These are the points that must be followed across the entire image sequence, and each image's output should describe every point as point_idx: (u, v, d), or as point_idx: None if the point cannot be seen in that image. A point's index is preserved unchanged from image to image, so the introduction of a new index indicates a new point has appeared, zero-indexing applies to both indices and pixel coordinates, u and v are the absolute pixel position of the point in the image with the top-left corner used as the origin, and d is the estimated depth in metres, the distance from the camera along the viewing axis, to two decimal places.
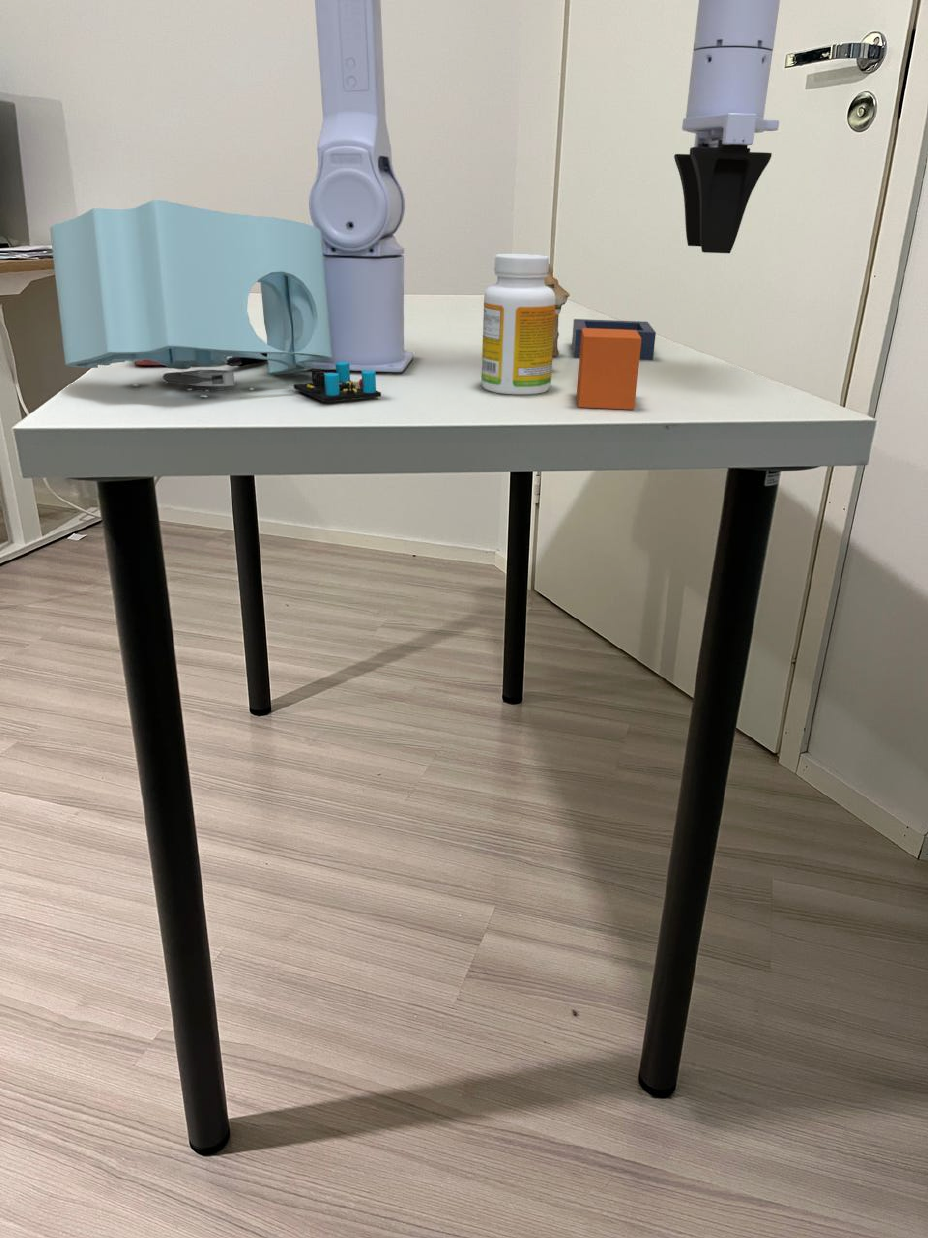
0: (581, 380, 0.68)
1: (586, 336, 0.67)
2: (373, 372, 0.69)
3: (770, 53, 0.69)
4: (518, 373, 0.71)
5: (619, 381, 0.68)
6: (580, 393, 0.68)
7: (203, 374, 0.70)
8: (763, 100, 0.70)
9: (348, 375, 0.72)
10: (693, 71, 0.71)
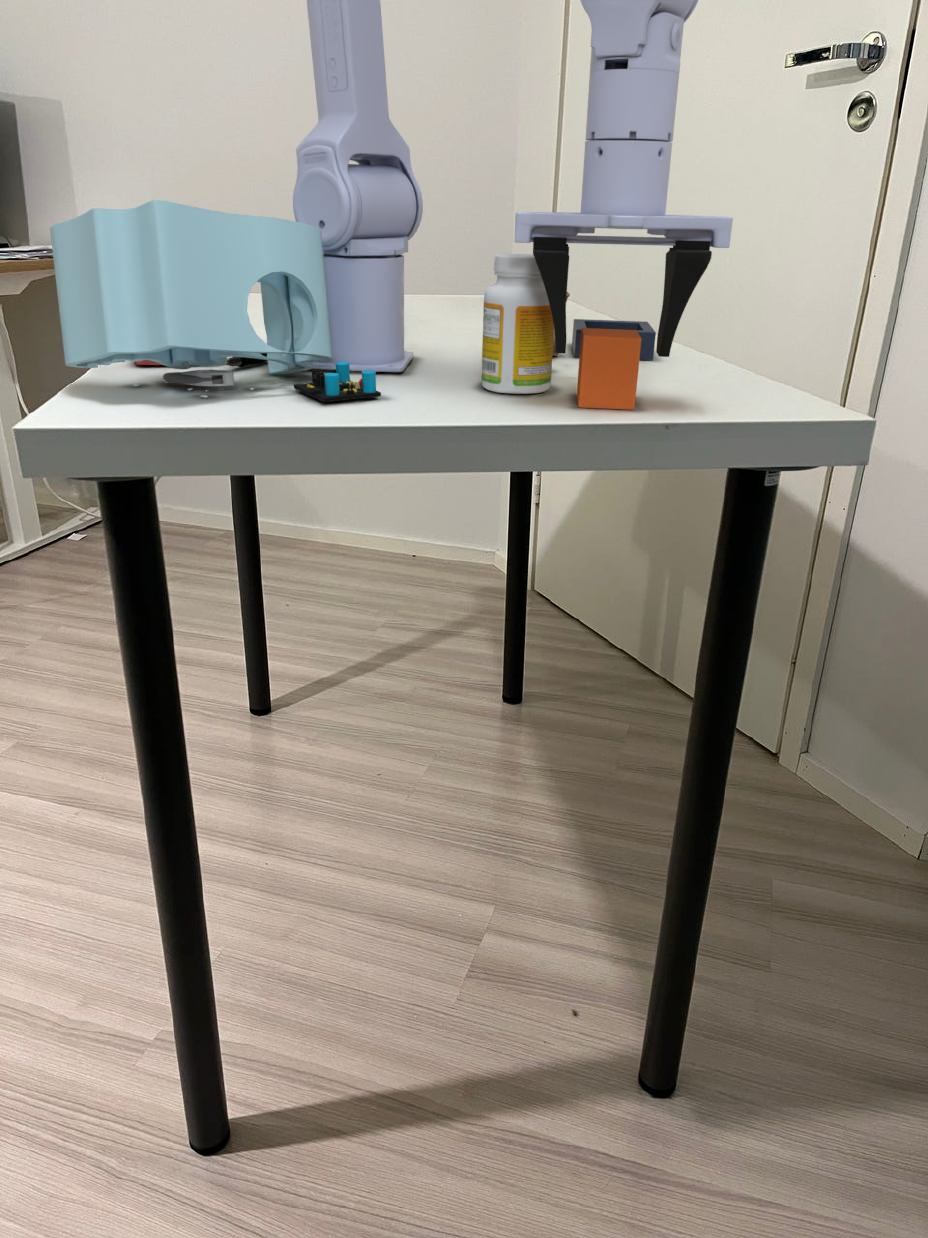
0: (581, 380, 0.68)
1: (586, 336, 0.67)
2: (373, 372, 0.69)
3: (609, 143, 0.61)
4: (518, 372, 0.71)
5: (619, 381, 0.68)
6: (580, 393, 0.68)
7: (203, 374, 0.70)
8: (605, 194, 0.62)
9: (348, 375, 0.72)
10: None
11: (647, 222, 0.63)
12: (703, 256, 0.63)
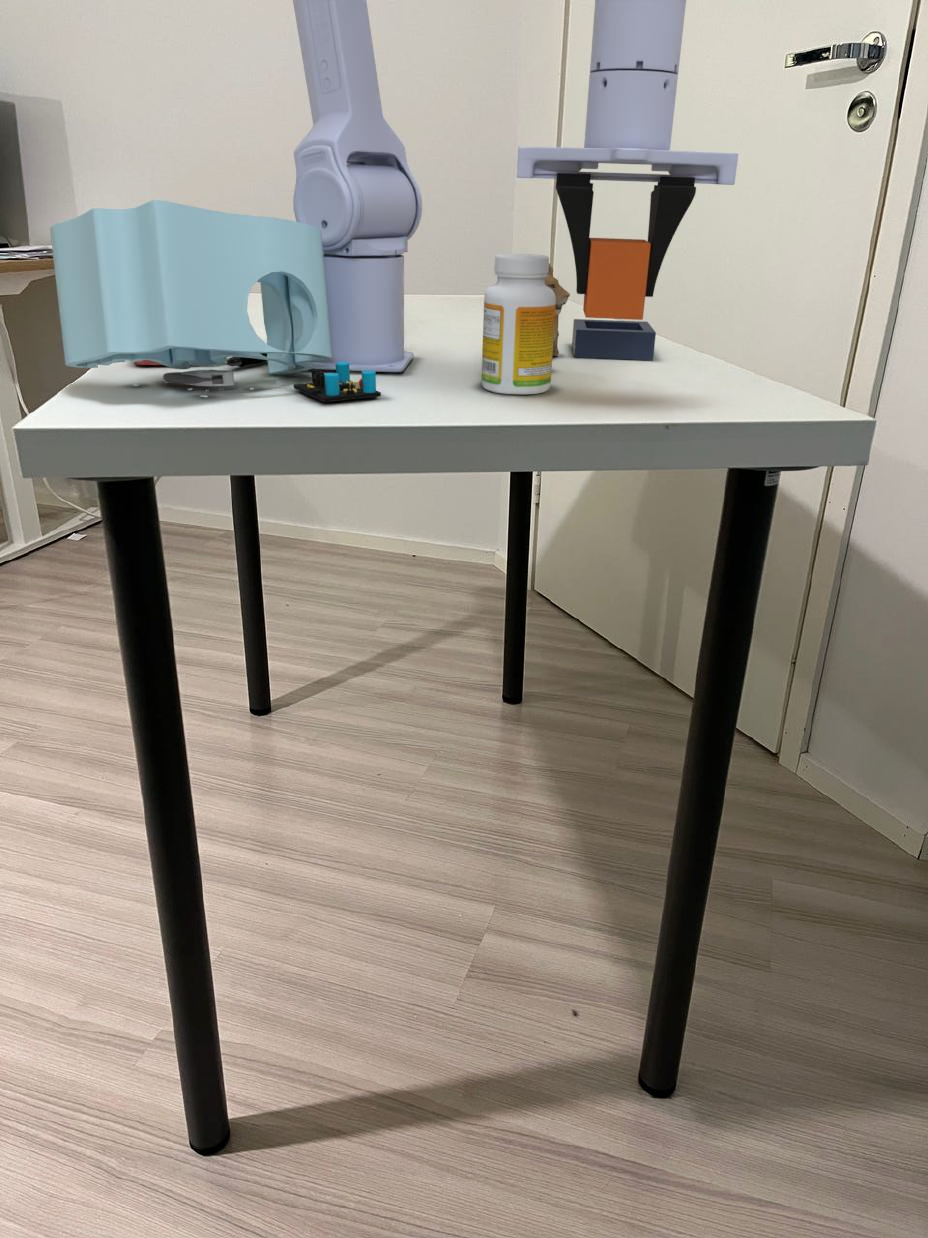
0: (588, 288, 0.66)
1: (594, 241, 0.65)
2: (373, 372, 0.69)
3: (614, 73, 0.60)
4: (518, 373, 0.71)
5: (627, 289, 0.66)
6: (587, 302, 0.66)
7: (203, 374, 0.70)
8: (609, 127, 0.61)
9: (348, 375, 0.72)
10: None
11: (651, 156, 0.62)
12: (687, 191, 0.62)
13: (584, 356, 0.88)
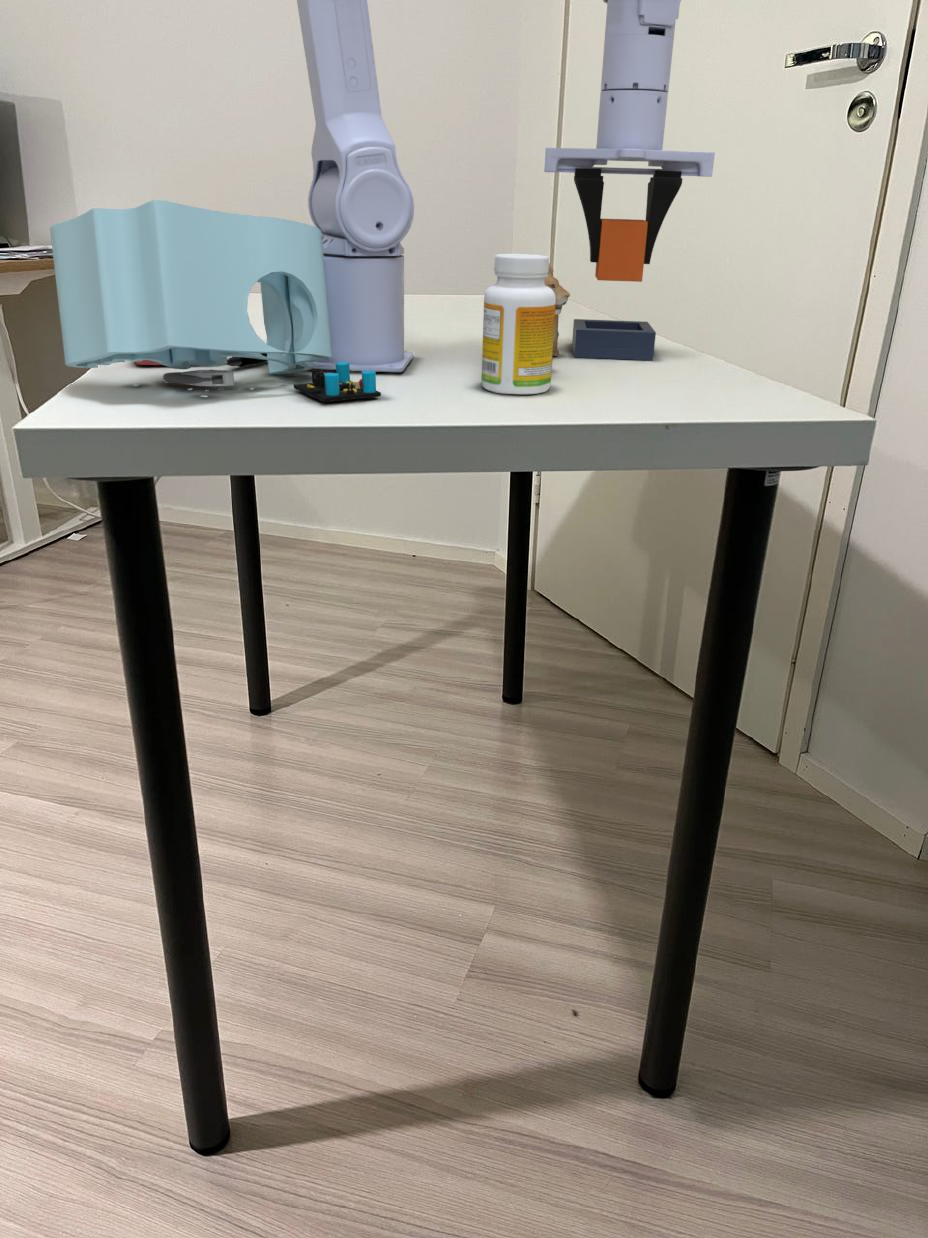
0: (600, 257, 0.85)
1: (604, 220, 0.84)
2: (373, 372, 0.69)
3: (619, 92, 0.79)
4: (518, 373, 0.71)
5: (630, 258, 0.85)
6: (599, 268, 0.86)
7: (203, 374, 0.70)
8: (615, 132, 0.81)
9: (348, 375, 0.72)
10: None
11: (648, 154, 0.81)
12: (675, 182, 0.82)
13: (584, 356, 0.88)
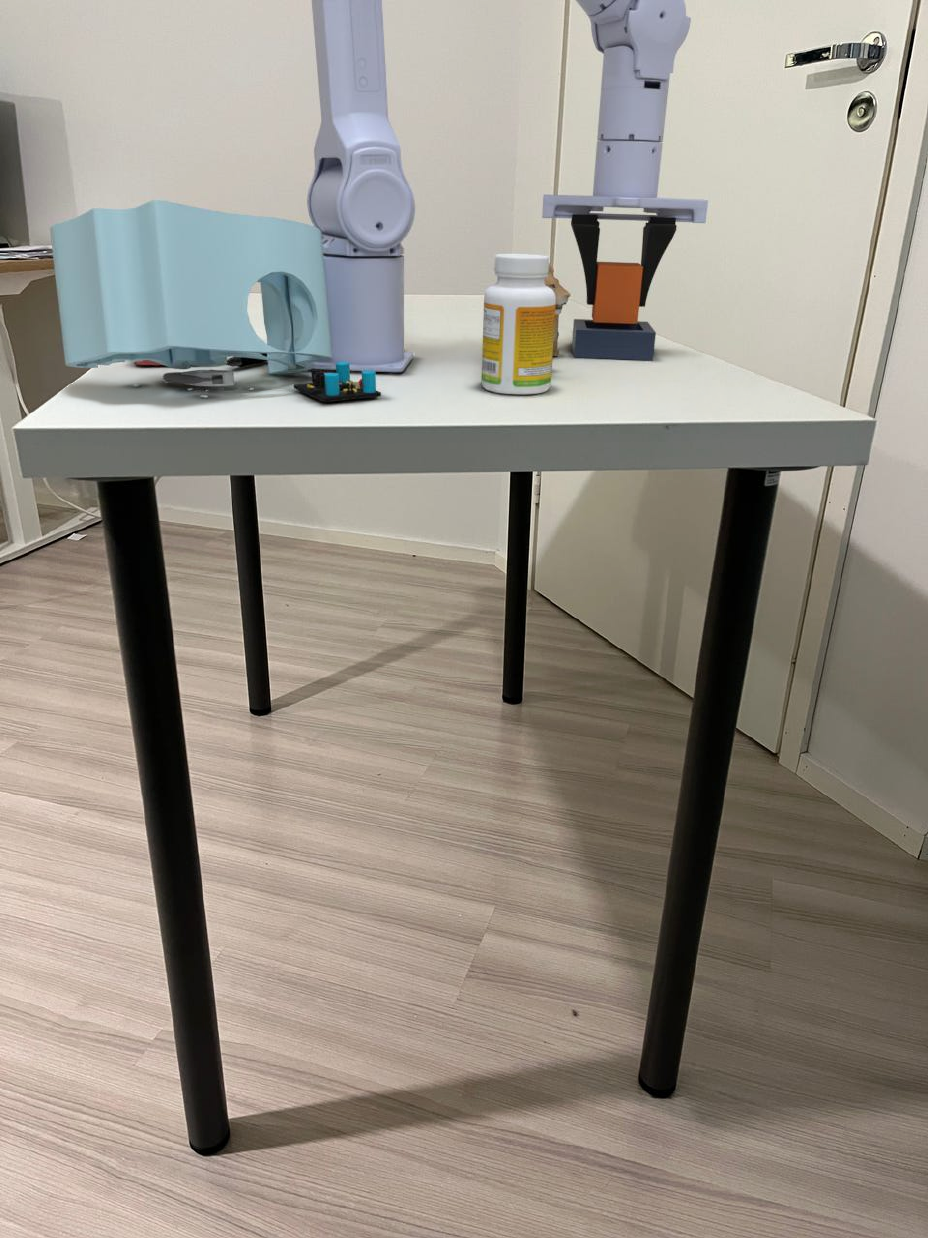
0: (596, 300, 0.87)
1: (600, 265, 0.86)
2: (373, 372, 0.69)
3: (615, 142, 0.81)
4: (518, 373, 0.71)
5: (625, 301, 0.87)
6: (595, 311, 0.88)
7: (203, 374, 0.70)
8: (611, 181, 0.83)
9: (348, 375, 0.72)
10: None
11: (643, 202, 0.83)
12: (670, 229, 0.84)
13: (584, 356, 0.88)
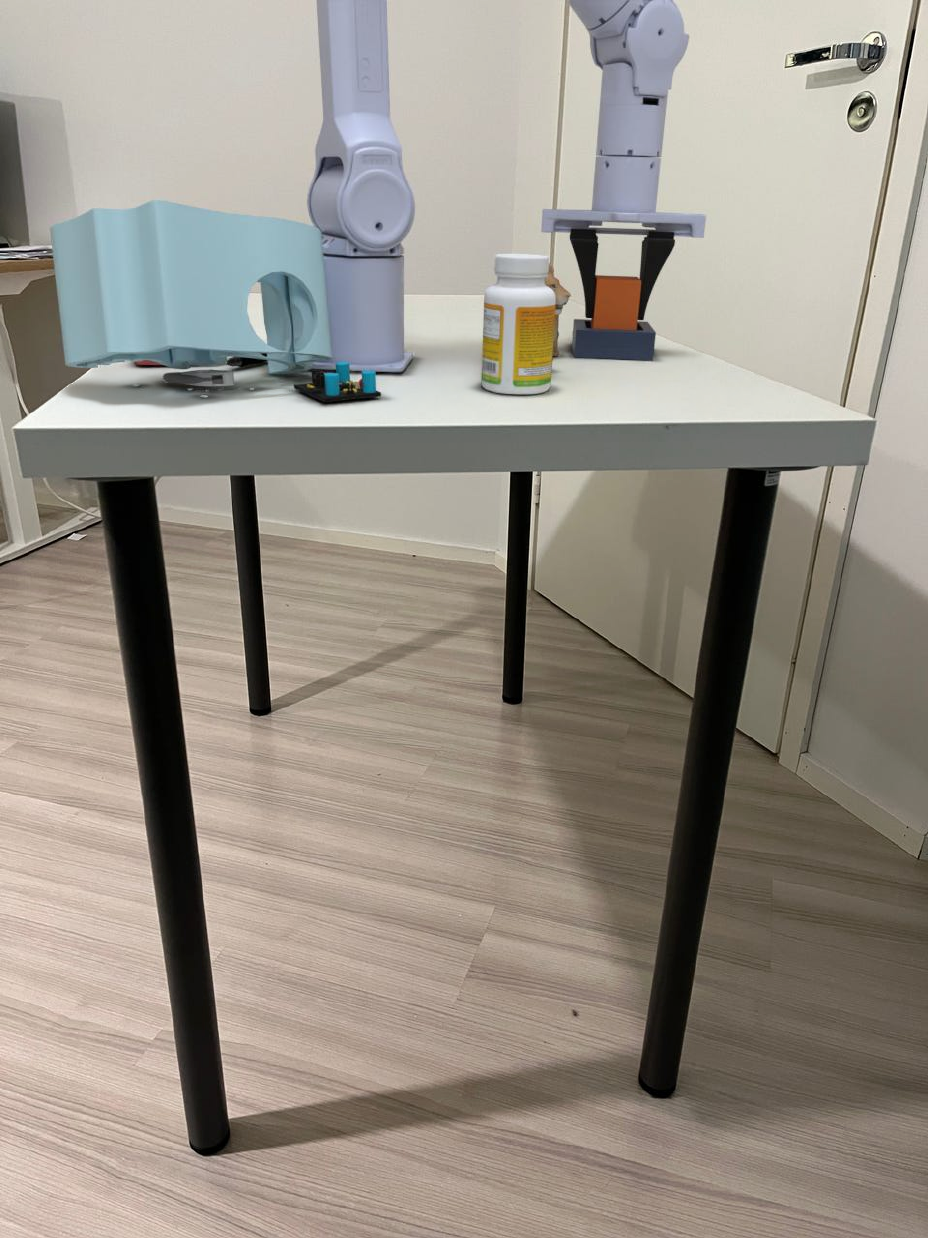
0: (594, 314, 0.88)
1: (599, 279, 0.87)
2: (373, 372, 0.69)
3: (614, 158, 0.82)
4: (518, 373, 0.71)
5: (624, 315, 0.88)
6: (594, 324, 0.88)
7: (203, 374, 0.70)
8: (610, 196, 0.83)
9: (348, 375, 0.72)
10: None
11: (641, 217, 0.84)
12: (668, 243, 0.84)
13: (584, 356, 0.88)
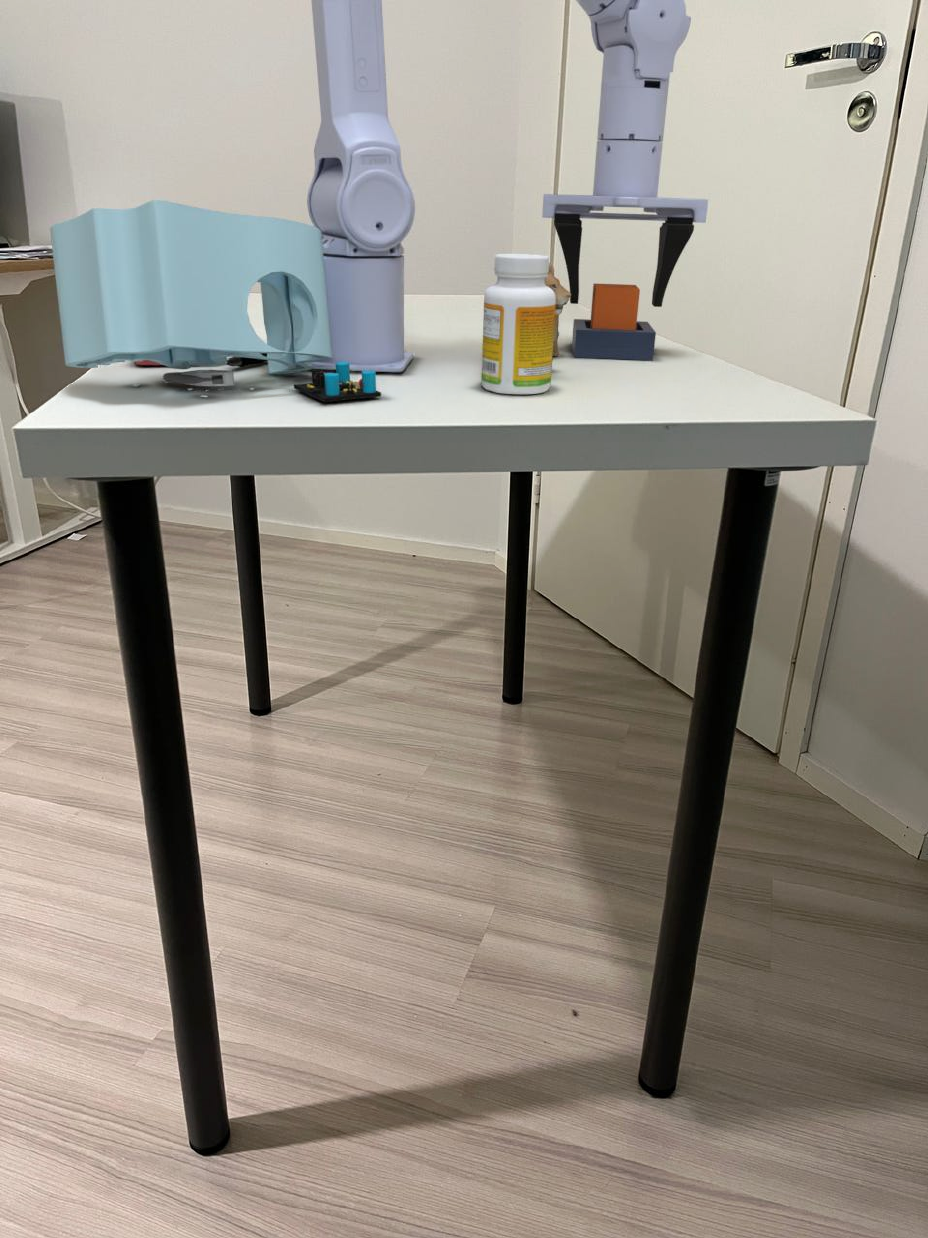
0: (593, 322, 0.88)
1: (597, 288, 0.87)
2: (373, 372, 0.69)
3: (615, 142, 0.81)
4: (518, 373, 0.71)
5: (622, 323, 0.88)
6: None
7: (203, 374, 0.70)
8: (611, 181, 0.83)
9: (348, 375, 0.72)
10: None
11: (643, 202, 0.83)
12: (687, 229, 0.84)
13: (584, 356, 0.88)
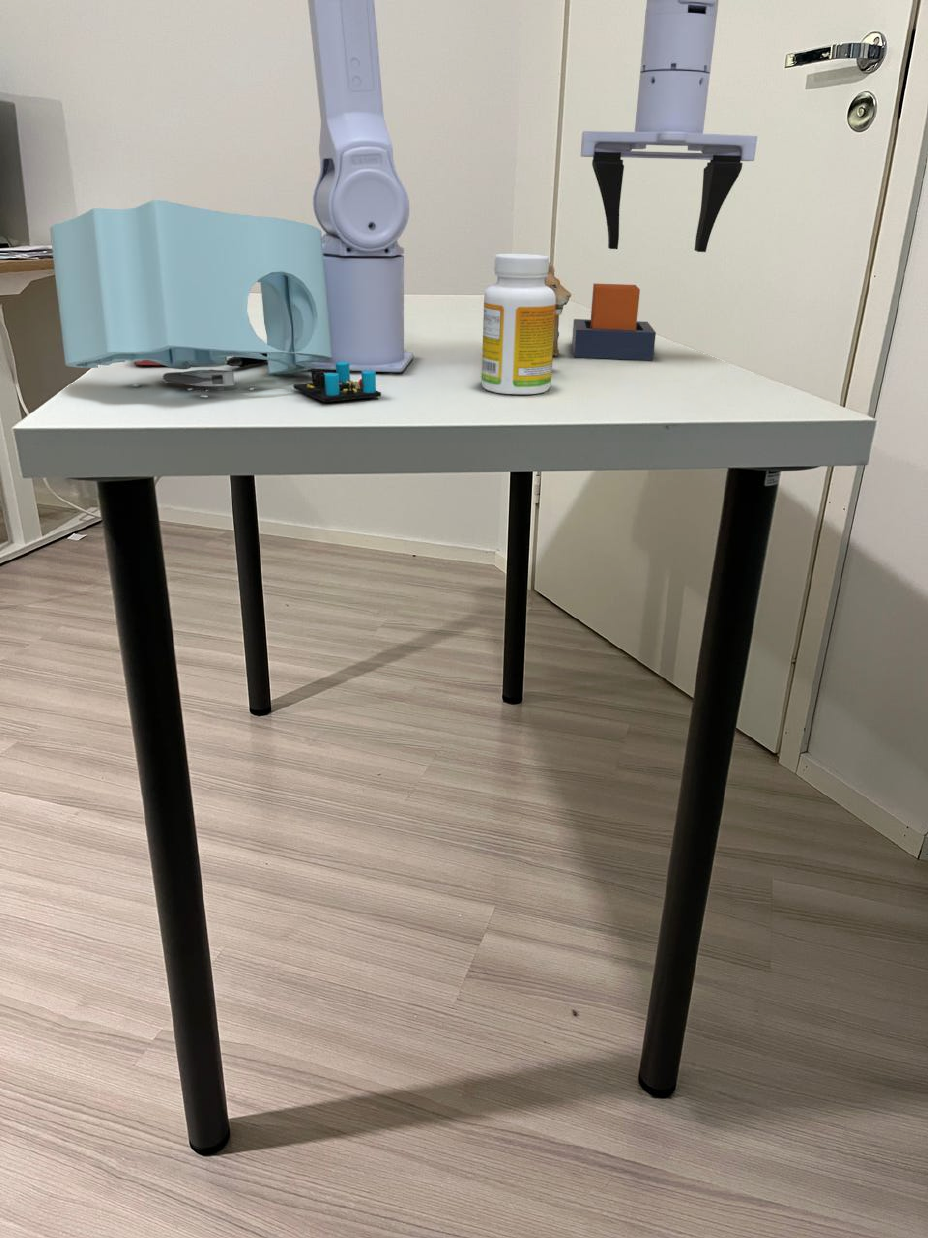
0: (593, 322, 0.88)
1: (597, 288, 0.87)
2: (373, 372, 0.69)
3: (661, 73, 0.77)
4: (518, 373, 0.71)
5: (622, 323, 0.88)
6: None
7: (203, 374, 0.70)
8: (656, 115, 0.78)
9: (348, 375, 0.72)
10: None
11: (689, 138, 0.79)
12: (736, 166, 0.79)
13: (584, 356, 0.88)
